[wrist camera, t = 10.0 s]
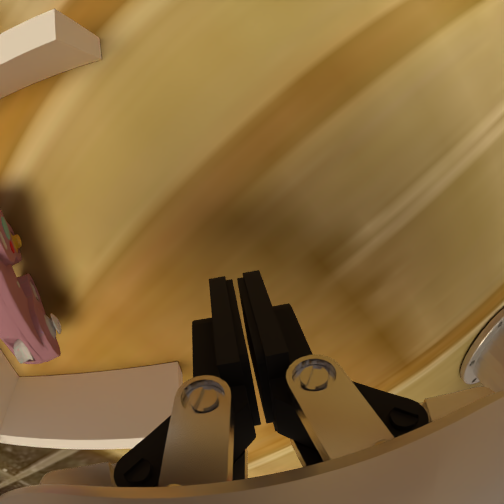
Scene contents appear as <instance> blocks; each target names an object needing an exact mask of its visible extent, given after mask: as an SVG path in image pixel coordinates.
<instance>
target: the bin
mask: <svg viewBox="0 0 504 504" xmlns="http://www.w3.org/2000/svg"><path fill="white" fill-rule="evenodd" d="M98 60H102V57H101V48H100V38H99V37H97V36H96V35H94V34H93V33H91V32H90V31H88V30H87V29H85V28H84V27H82V26H81V25H79V24H78V23H76V22H75V21H73V20H72V19H70V18H68V17H67V16H65V15H64V14H62V13H61V12H59V11H57V10H56V9H52V10H50V11H47V12H45V13H43V14H40V15H38V16H36V17H34V18H31V19H29V20H27V21H25V22H23V23H21V24H19V25H17V26H15V27H13V28H11V29H9V30H7V31H5V32H3V33H1V34H0V99H1V98H3V97H5V96H7V95H9V94H11V93H13V92H16V91H18V90H20V89H22V88H24V87H27V86H29V85H31V84H34V83H36V82H39V81H41V80H44V79H46V78H49V77H51V76H54V75H57V74H59V73H62V72H65V71H68V70H70V69H73V68H76V67H79V66H82V65H85V64H88V63H92V62H95V61H98ZM182 384H183V381H182V371H181V369H180V366H179V364H178V362H172V363H165V364H159V365H152V366H144V367H137V368H129V369H120V370H111V371H102V372H92V373H81V374H68V375H53V376H35V377H19V376H18V375H17V373H16V372H15V370H14V369H13V367H12V366H11V365H10V363H9V362H8V360H7V359H6V357H5V356H4V354H3V353H2V351H1V349H0V443H6V444H14V445H22V446H32V447H44V448H61V449H127V448H133V447H135V446H136V445H137V444H138V443H139V442H141V441H142V440H143V439H144V438H145V437H146V436H147V435H149V434H150V433H151V432H152V431H153V430H154V429H156V428H157V427H158V426H159V425H160V424H161V423H162V422H164V421H165V420H166V419H167V418H168V417H169V416H170V415H171V413H172V408H173V403H174V398H175V395H176V392H177V390H178V389H179V387H180V386H181V385H182Z"/></svg>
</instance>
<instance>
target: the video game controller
mask: <svg viewBox="0 0 504 504" xmlns="http://www.w3.org/2000/svg"><path fill="white" fill-rule="evenodd" d="M21 246H22V242H21V239H20V237H19V235H17V234H16V235H15V234H14V232H13V230H12V228H11V226H10V225H9V224H8V223H7V221H6V220H5V218H4V215H3V213H2V211H1V209H0V339H1V340H2V341H3V342H4V343H5V344H6V345H7V347H8V348H9V349H10V350H11V352H12V353H13V354H14V355H15V356H16V358H17V360H18V361H19V362H20V363H25V364H39V363H43V362H48V361H50V360H52V359H54V358H56V357H58V356H60V354H61V353H60V348H59V345H58V342H57V339H56V330H57V331H58V333H59V334H60V333H61V324H60V322H59V320H58V318H57V317H56V316H55V315H53V314H52V313H51V314H50V315H51V319H52V320H51V319H50V318H49V317H48V316H46V314H45V311H44V308H43V305H42V302H41V298H40V296H39V293H38V290H37V288H36V286H35V284H34V281H33V279H32V277H31V276H30V275H29V273H28V274H25V275H23V276H21V277H16V275H15V273H14V271H13V268H12V265H14V264H16V263H18V262H21V260H22V257H21V253H20V247H21Z"/></svg>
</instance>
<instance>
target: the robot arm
mask: <svg viewBox="0 0 504 504" xmlns="http://www.w3.org/2000/svg"><path fill="white" fill-rule="evenodd" d="M237 280H238V286H239V292H240V299H241V305H242V311H243V317H244V323H245V328H246V334H247V340H248V345H249V350H250V354H251V359H252V363H253V368H254V372H255V376H256V381H257V385H258V389H259V394H260V398H261V402H262V407H263V411H264V415H265V419H266V423H271V422H273V424H274V427H275V431H277V432H278V433H279V434H281V435H284V436H286V437H288V438H290V441H291V444H292V446H293V448H294V450H295V452H296V454H297V456H298V458H299V460H300V462H301V464H302V466H303V467H302V468H298V469H293V470H289V471H284V472H280V473H275V474H270V475H265V476H259V477H254V478H248V452H247V447H248V446H249V445H250V444H251V442H252V441H253V440H254V439H255V438H256V433H255V428H254V426H256V425H261V422H260V417H259V411H258V406H257V401H256V395H255V390H254V385H253V379H252V374H251V368H250V363H249V358H248V353H247V348H246V343H245V339H244V334H243V329H242V325H241V320H240V315H239V310H238V305H237V301H236V296H235V291H234V286H233V281H232V279H231V280H226V278H225V276H224V277H218V278H212V279H209V285H210V297H211V309H212V318H207V319H201V320H195V321H193V322H192V343H193V378H191V379H189V380H187V381H186V382H185V383H183V384H182V385H181V386H180V387H179V389H178V390H177V392H176V395H175V398H174V403H173V408H172V413H171V415H170V416H169V417H168V418H167V419H166V420H165V421H164V422H162V423H161V424H160V425H159V426H158V427H157V428H156V429H154V430H153V431H152V432H151V433H150V434H149V435H147V436H146V437H145V438H144V439H143V440H142V441H141V442H139V443H138V444H137V445H136V446H135V447H133V448H132V449H131V450H130V451H129V452H128V453H126V454H125V455H124V456H123V457H122V458H121V459H120V460H119V461H118V462H117V463H116V464H110V463H109V462H104V463H99V464H93V465H88V466H82V467H75V468H68V469H61V470H54V471H51V472H48V473H47V474H46V475H45V476H43V478H42V480H41V482H40V485H33V486H27V487H22V488H18V489H15V490H12V491H9V492H7V493H5V494H3V495H1V496H0V504H504V308H503V309H502V310H501V311H500V312H499V313H498V314H497V315H496V316H495V317H494V318H493V319H492V320H491V321H490V322H489V323H488V325H487V326H486V327H485V328H484V329H483V330H482V332H481V333H480V334H479V336H478V337H477V338H476V340H475V341H474V343H473V344H472V346H471V348H470V349H469V351H468V353H467V354H466V356H465V359H464V361H463V363H462V366H461V372H460V375H461V378H462V379H463V381H464V382H465V383H467V384H474V383H477V382H479V381H480V382H481V383H482V384H483V385H484V387H483V386H481V387H474V388H470V389H466V390H462V391H458V392H454V393H450V394H445V395H441V396H436V397H431V398H426V399H425V400H424V402H422V403H418V402H416V401H413V400H411V399H408V398H404V397H401V396H397V395H394V394H391V393H387V392H384V391H381V390H378V389H374V388H371V387H368V386H365V385H362V384H359V383H356V382H353V381H351V380H350V378H349V377H348V376H347V374H346V373H345V372H344V370H343V369H342V368H341V366H340V365H339V364H338V363H337V362H336V361H335V360H333V359H331V358H329V357H327V356H323V355H313V354H312V352H311V350H310V348H309V345H308V343H307V341H306V339H305V336H304V334H303V332H302V329H301V327H300V325H299V323H298V320H297V318H296V316H295V314H294V311H293V309H292V307H291V305H290V304H289V303H288V304H283V305H278V306H273V307H272V305H271V302H270V299H269V296H268V293H267V291H266V288H265V285H264V282H263V280H262V277H261V274H260V272H259V270H258V271H252V272H246V273H243V278H237Z"/></svg>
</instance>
